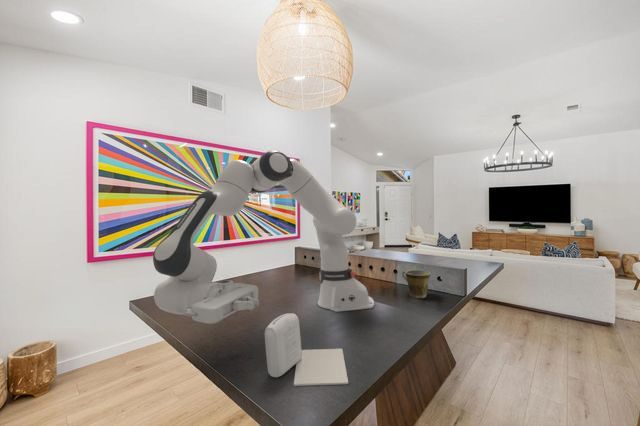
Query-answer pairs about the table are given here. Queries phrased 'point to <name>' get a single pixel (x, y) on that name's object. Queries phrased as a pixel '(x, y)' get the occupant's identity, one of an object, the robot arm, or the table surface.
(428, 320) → the table surface
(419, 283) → the ceramic cup
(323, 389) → the table surface
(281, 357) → the photo printer
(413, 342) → the table surface
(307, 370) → the mat
